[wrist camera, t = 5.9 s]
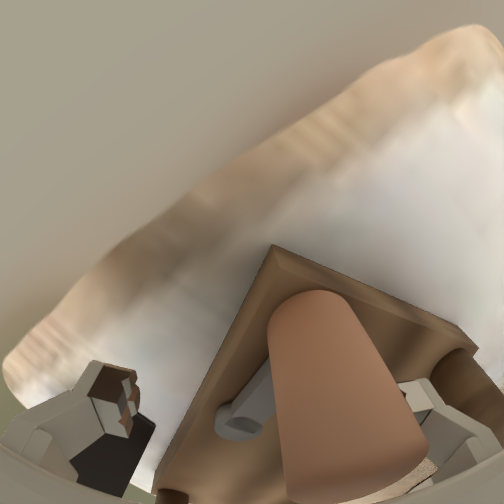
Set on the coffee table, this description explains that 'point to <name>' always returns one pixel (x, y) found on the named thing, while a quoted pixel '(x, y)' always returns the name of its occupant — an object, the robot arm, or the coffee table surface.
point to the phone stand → (113, 458)
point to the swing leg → (327, 404)
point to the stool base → (268, 442)
